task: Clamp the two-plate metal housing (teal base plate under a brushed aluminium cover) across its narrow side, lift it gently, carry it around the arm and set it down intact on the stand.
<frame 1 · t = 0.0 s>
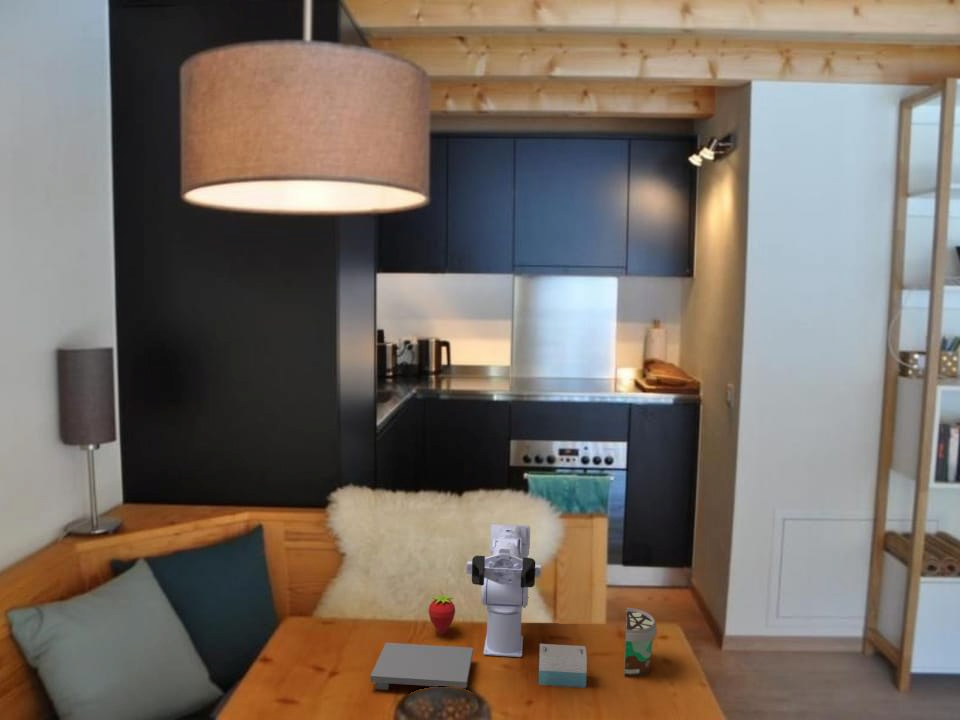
hand: (501, 581, 137), 22 cm above the table, tool horizontal, fingers open, 7 cm apart
food container: (639, 668, 150), on the table
housing: (561, 680, 145), on the table
stand: (423, 676, 145), on the table
strawberry: (441, 635, 164), on the table
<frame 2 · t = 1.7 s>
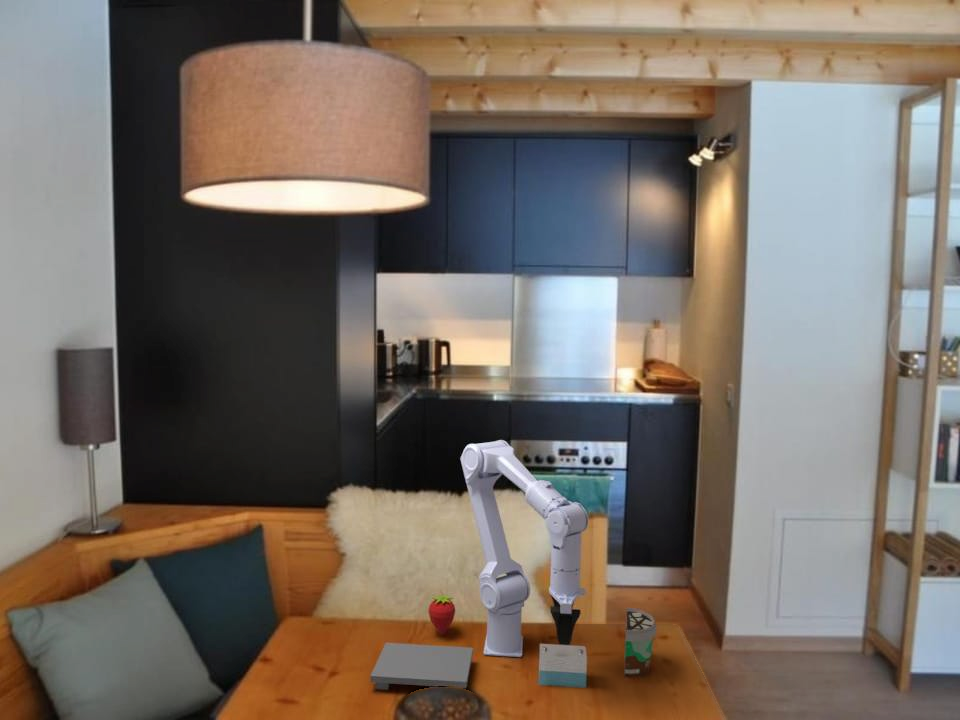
hand: (563, 635, 144), 9 cm above the table, tool pointing down, fingers open, 7 cm apart
nothing on the table moved.
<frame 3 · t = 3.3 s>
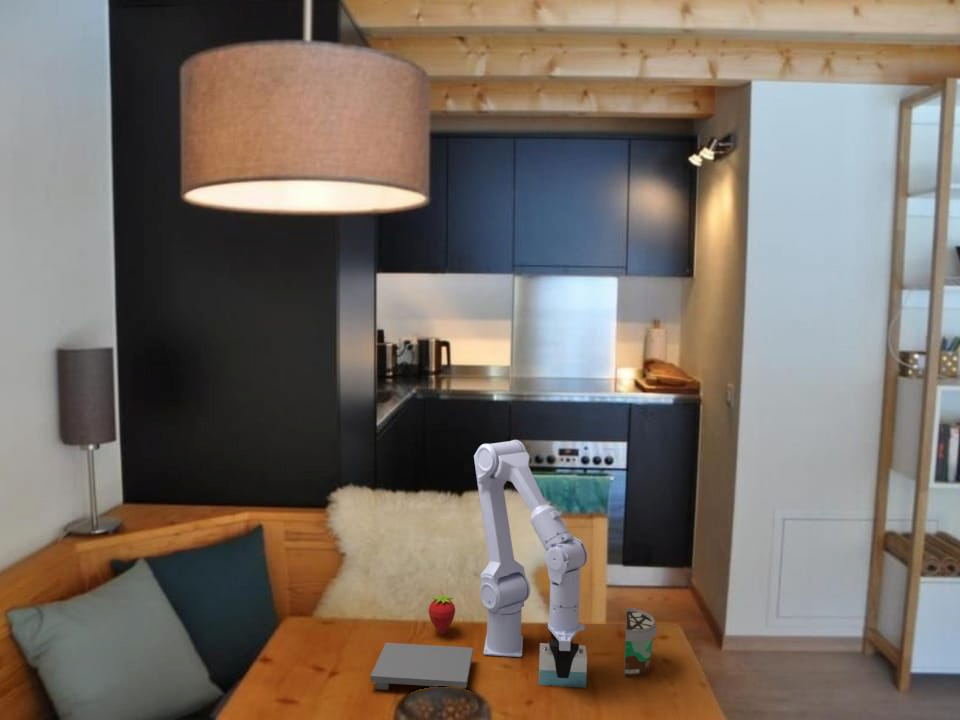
hand: (562, 670, 145), 2 cm above the table, tool pointing down, fingers closed on housing, 5 cm apart
housing: (562, 679, 145), on the table, touching gripper
everything else where it was.
when the fingers open (6 cm above the table, at t = 9.6 s): housing drops 1 cm, resting on stand.
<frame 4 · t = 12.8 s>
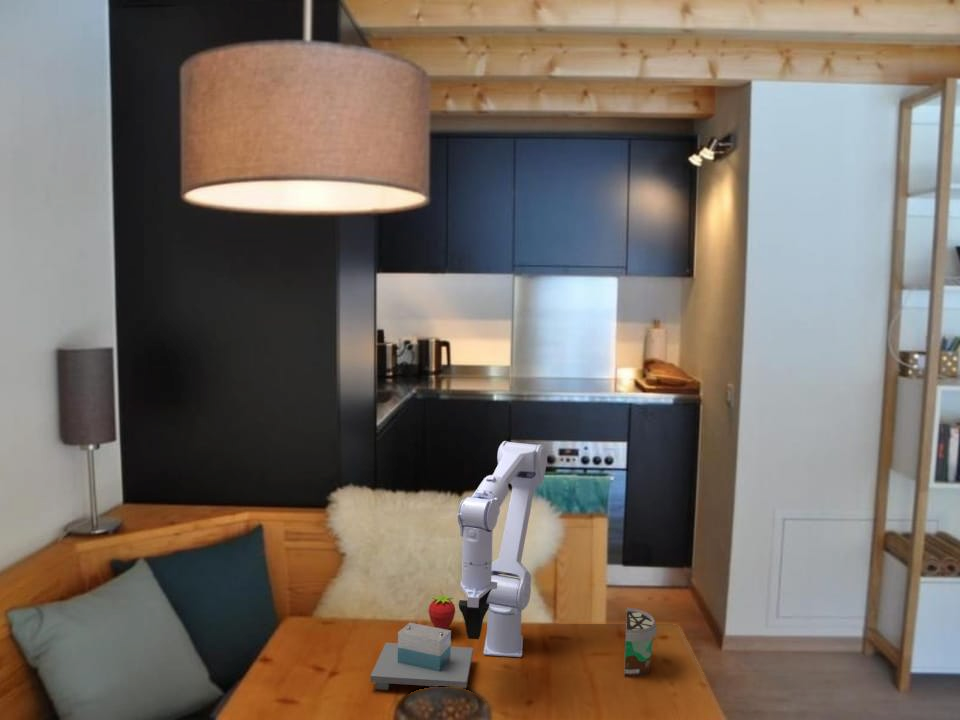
hand: (475, 629, 142), 10 cm above the table, tool pointing down, fingers open, 7 cm apart
housing: (424, 661, 145), point 3 cm above the table, touching stand
everything else where it was.
at the end: housing inside the target area on the stand (0.0 cm from its centre), point 3.0 cm above the stand's base; housing tilted 0°; the gripper is holding nothing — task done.
